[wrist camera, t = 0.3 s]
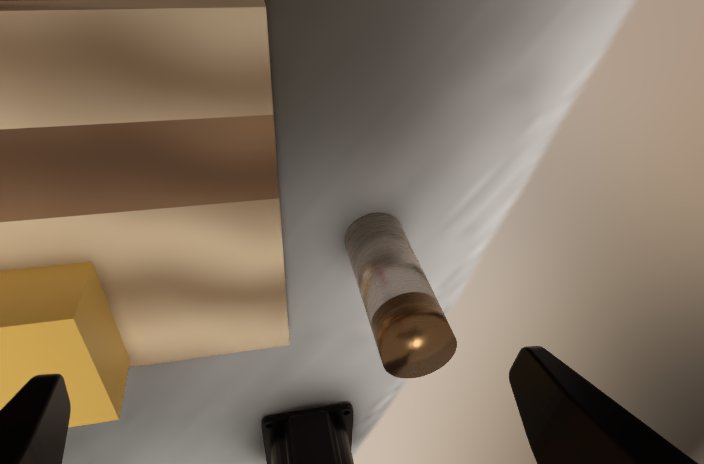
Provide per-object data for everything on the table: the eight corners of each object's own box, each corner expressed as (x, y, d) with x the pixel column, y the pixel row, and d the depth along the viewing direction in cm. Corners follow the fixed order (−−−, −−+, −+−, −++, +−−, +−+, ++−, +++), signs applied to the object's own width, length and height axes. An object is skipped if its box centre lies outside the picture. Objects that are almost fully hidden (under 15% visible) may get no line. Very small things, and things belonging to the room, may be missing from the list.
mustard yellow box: (129, 361, 26) (119, 419, 23) (27, 375, 25) (3, 437, 22) (92, 261, 22) (73, 318, 19) (-33, 274, 21) (-72, 336, 18)
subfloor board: (287, 325, 29) (289, 345, 28) (-12, 365, 26) (-23, 388, 25) (263, -3, 18) (265, 7, 17) (-251, 3, 15) (-290, 15, 14)
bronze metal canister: (399, 256, 28) (450, 371, 21) (344, 262, 27) (380, 383, 21) (404, 210, 26) (462, 322, 20) (345, 215, 25) (385, 332, 19)
